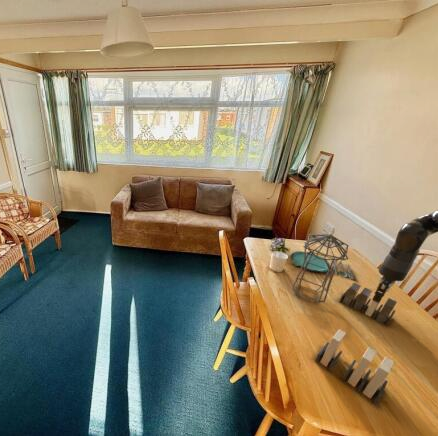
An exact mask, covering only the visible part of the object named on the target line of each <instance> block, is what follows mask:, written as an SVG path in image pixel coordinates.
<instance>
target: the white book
mask: <svg viewBox="0 0 438 436" xmlns="http://www.w3.org/2000/svg"><path fill="white" fill-rule="evenodd" d="M378 292H380V291H378ZM381 293H382V292H381ZM381 301H382V299H381V300H380V302H379V303H378V302H375V301H373V300H372V299H371V301H370V303H369V305H368V306H369V307H368V309H367V311H365V313H364V314H365V315H366V316H368V317H371V318H372V316H373V313H374V311H375V310H377V309H378V307H379V304H380V303H381Z"/></svg>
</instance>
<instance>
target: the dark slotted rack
mask: <svg viewBox="0 0 438 436" xmlns="http://www.w3.org/2000/svg"><path fill="white" fill-rule="evenodd" d="M346 334H347V333H346V332H345V331H343V330H341V329H340V328H339V329H338V330H337V331H336V332H335V334H334V335H333V336H332V338H331V339H330V342H329V341H327V342H326V343H325V345H324V346H323V347H322V348H321V349H320V351H319V352H317V355H316V357H315V360H314V362H316V363H318V361H319V360H320V359H321V360H320V361H319V362H320V364H322V365H323V366H324V367H328V366H329V367H328V368H327V371H328V372H331V370H332V369H333V368H334V367H335V365H336V363H337V362H338V360H339V359H340V357H341V355H342V353H343V351H342V350H339V348H340V346H341V344H342V342H343V340H344V338H345V336H346ZM338 350H339V352H338V353H337V351H338ZM377 352H378V351H377V350H375V349H373V348H372V347H371V346H368V347H367V349H366V350H365V352H364V353H363V355H362V357H361V359H360V360H359V362H358V363H357V360H356V359H353V360H352V362H351V364H350V365H349V367H348V368H347V370H346V371H345V373H344V375H343V377H342V378H341V382H345V380H346V379H347V377H348V375H349V374H350V373H351V370H352V369H353V367H354V366H355V364H356V363H357V365H356V367H355V368H354V370H353V371H352V373H351V374H350V376H349V378H348V379H347V381H346V382H347V383H348V384H349V385H351V386H352V387H353V388H355V387H356V386H357V384H358V383H359V381H360V380H361V378H362V377H363V378H362V380H361V382H360V383H359V385H358V387H357V388H356V392H357V393H360V392H361V390H362V389H363V387H364V385H365V384H366V385H365V387H364V389H363V391H362V394H363V395H364V396H366V397H367V398H369V399H372V398H373V396H374V395H375V394H376V395H375V396H374V399H373V400H372V404H373V405H376V404H377V403H378V402H379V400H380V399H381V397H382V395H383V393H384V391H385V389H386V387H387V384H388V380H387V379H386V378H387V377H388V375H389V374H390V372H391V370H392V368H393V366H394V363H395V361H394V360H392V359H391V358H389V357H387V356H384V358H383V359H382V361H381V363H380V364H379V365H378V367H377V368H376V369H375V372H373V374H372V376H371V377H370V379H369V376H370V374H371V372H372V370H371V369H368V368H369V366H370V365H371V364H372V361H373V359H374V358H375V356H376V354H377ZM336 353H337V354H336ZM330 362H331V363H330ZM329 364H330V365H329ZM367 369H368V370H367ZM365 372H366V373H365ZM368 379H369V380H368ZM367 380H368V382H367ZM366 382H367V383H366Z"/></svg>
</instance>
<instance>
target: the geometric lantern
mask: <svg viewBox="0 0 438 436" xmlns="http://www.w3.org/2000/svg"><path fill="white" fill-rule="evenodd" d="M311 237H312V238H311ZM322 241H323V242H322ZM318 243H319V245H318V246H316V247H315V248H314V249H313V248H311V247H313V246H315V245H316V244H318ZM326 243H327V245H326ZM343 246H346V247H345V248H344V247H343ZM324 247H325V248H326V252H325V253H323V252H321V250H322V249H323V248H324ZM303 248H304V252H305V253H304V262H303V265H302V267H301V266H300V269H299V272H298V274H297V275H296V278H295V280H294V282H293V285H292V288H291V290H292V291H293V292H294V293H295V294H296V297H298V298H300V297H302V298H305V299H307V300H309V301H313V303H314V304H317V303H324V302H326V299H327V296H328V293H329V291H330V287H331V284H332V281H333V278H334V274H335V269H336V270H337V268H338V267H339V266H340V263H342V261H347V260H349V257H348V255H347V253H348V249H349V244H347V243H346V242H344V241H342V240H340V239H339V238H337V237H335V236H334V235H332V234H328V233H323V234H322V233H321V234H320V233H319V234H307V240H306V242H305V241H304V246H303ZM333 248H336V249H337V251H338V253H339V254H340V256H336V255H334V252H333ZM307 250H308V251H307ZM329 250H330V252H331V254H332V255H330V254H329ZM309 253H311V256H310V258H309V260H308V262H307V260H306V259H307V257H308V254H309ZM312 255H314V256H315V257H316V258H315V259H317V258H318V259H322V260H325V262H326V264H327V267H328V269H327V268H324V267H321V266H318V265H315V264H312V263H309V262H310V259H311V257H312ZM317 256H321V257H322V258H319V257H317ZM323 258H324V259H323ZM315 259H313V260H315ZM326 260H327V261H331V263H330V264H329V265H330V267H329V266H328V263H329V262H328V263H327V261H326ZM311 261H312V260H311ZM338 261H339V263H338V264H337V262H338ZM305 262H307V263H306V266H305V268H303V266H304V264H305ZM333 262H335V264H334V263H333ZM308 264H312V265H315V266H318V267H321V268H324V269H327V270H328V272H326V274H325V276H324V279H323V281H322V283H321V285H320V284H318V283H316V282H313V281H310V280H307V279H304V275H305V273H306V271H307V269H306V268H307V266H308ZM332 266H333V267H332ZM335 267H336V268H335ZM302 270H303V271H302ZM330 272H331V273H330ZM301 273H302V274H301ZM300 275H301V277H300ZM329 275H330V277H329ZM298 280H299V282H298ZM302 281H304V282H307V283H310V284H312V285H315V286H317V287H318V288H317V289H316V290H315V289H312V288H310V287H306V286H303V285H302ZM296 284H297V289H296V290H295V289H294V288H295V286H296ZM326 285H327V286H326ZM301 288H304V289H308V290H311V291H314V292H313V293H314V294H316V299H315V298H313V297H310V296H308V295H306V294H303V293H301V292H300V291H299V290H300V289H301ZM321 288H322V289H321ZM320 289H321V291H319V290H320ZM324 292H325V293H324ZM319 293H320V295H319ZM323 294H324V296H323ZM322 297H323V299H322Z"/></svg>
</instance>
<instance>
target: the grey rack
mask: <svg viewBox="0 0 438 436" xmlns="http://www.w3.org/2000/svg"><path fill="white" fill-rule="evenodd" d="M360 288H362V285H360V284H359V283H356V282H353V283H352V284H351V285H350V286H349V288H348V289H346V290H345V292H344V293H343V294H341V296H340V299H339V301H338V303H342V304H345V305H346V306H349V308H350V309H352V308H353V309H354V310H356V311H358V312H360V314H364V312H366V311H367V309H368V307H369V305H370V304H371V302H372V299H371V298H370V297H371V294H372V293H373V290H372V289H369V288H368V287H364V288H363V289H362V290H361V292H360ZM397 303H398V301H397V300H395V299H392V298H390V297H389V298H387V300H386V301H385V303H384V304H382V303H381V304H380V305H379V306H378V307H377V309H376V310H375V311H374V313H373V314H372V316H373V317H371V320H376V321H378V322H380V323H381V324H384V326H385V327H388V324H390V323H391V321H392V320H393V316H394V315H395V313H396V310H395V309H394V308H395V307H396V305H397Z"/></svg>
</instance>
